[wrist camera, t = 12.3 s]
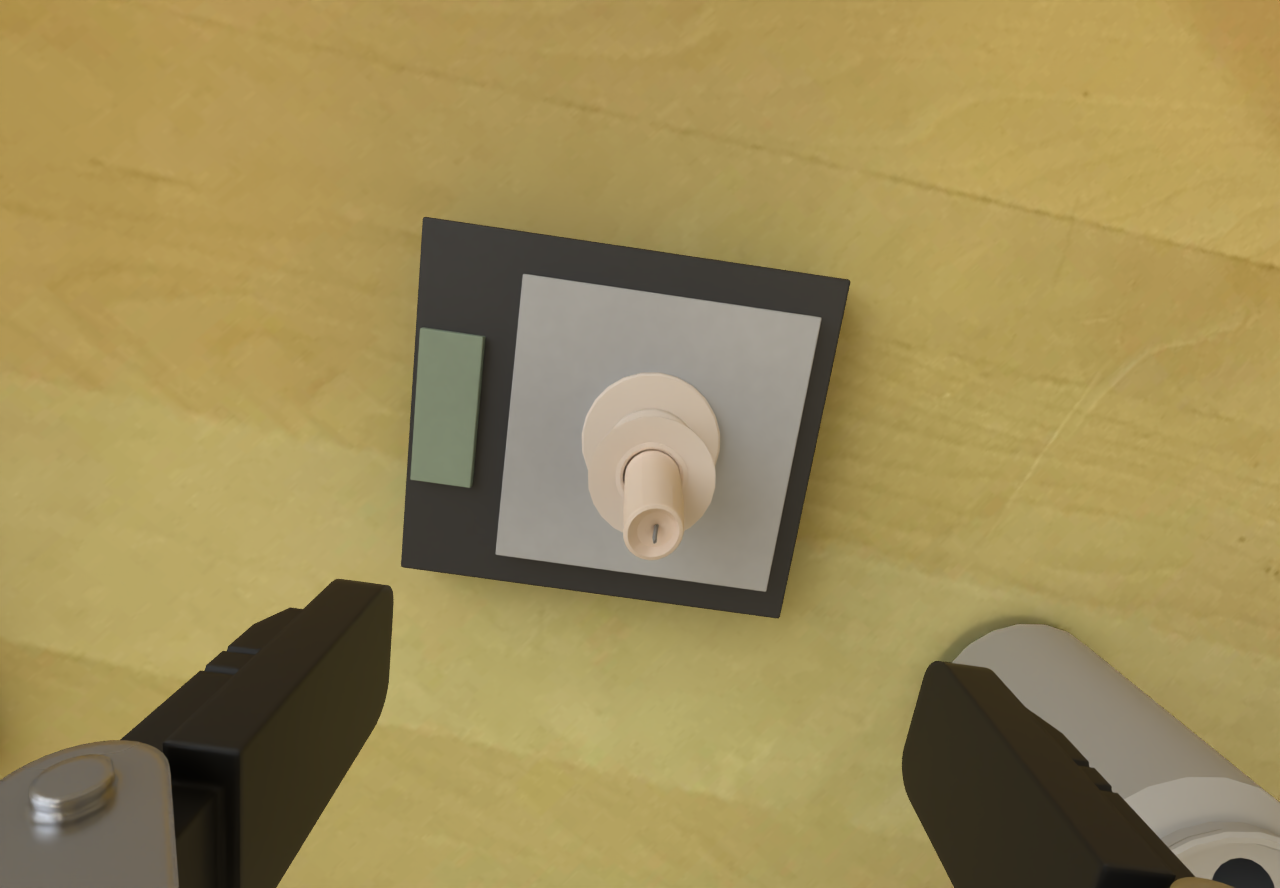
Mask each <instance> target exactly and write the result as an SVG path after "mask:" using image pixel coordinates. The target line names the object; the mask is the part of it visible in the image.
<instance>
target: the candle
mask: <svg viewBox="0 0 1280 888" xmlns="http://www.w3.org/2000/svg"><path fill="white" fill-rule="evenodd" d="M719 452H720V431H719V427H718V423H717V419H716V415H715V414H714V412H713V410H712V408H711V407H710V405H709V403H708V402H707V400H706V398H705V397H704V396H703V395H702V394H701V393H700V392H699V391H698V390H697V389H696V388H695V387H694V386H692V385H691V384H689V383H687V382H685V381H684V380H682V379H680V378H678V377H676V376H672V375H668V374H664V373H660V372H641V373H637V374H634V375H630V376H627V377H623V378H621V379H620V380H618V381H616V382H615V383H613V384H611V385H610V386H608V387H607V388H606V389H605V390H604V391H603V392H602V393H601V394H600V395H599V396H598V397H597V398H596V399H595V401H594V403H593V404H592V406H591V408H590V410H589V412H588V413H587V415H586V418H585V422H584V426H583V430H582V453H583V456H584V460H585V463H586V466H587V469H588V489H589V492H590V495H591V498H592V501H593V504H594V506H595V507H596V509H597V510H598V512H599V513H600V515H601V517H602V518H603V519H605V520H606V521H607V522H608V523H609V524H610V525H611V526H612V527H613V528H615V529H617V530H619V531H620V532H622V533H623V539H624V542H625V545H626V547H627V548H628V550H629V551H630V552H631V553H632V554H634V555H635V556H637V557H639V558H641V559H645V560H658V559H661V558H664V557H666V556H668V555H669V554H671V553H672V552H673V551H674V550H675V549H676V548H677V547H678V545H679V544H680V542H681V540H682V537H683V534H684V531H685V530H687V529H689V528H690V527H692V526H693V525H694V524H695V523H696V522H697V521H698V520H699V519H700V518H701V517H702V516H703V514H704V513H705V511H706V510H707V508H708V506H709V505H710V503H711V500H712V497H713V493H714V490H715V479H716V471H715V465H716V462H717V459H718V455H719Z"/></svg>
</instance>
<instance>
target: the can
mask: <svg viewBox="0 0 1280 888" xmlns="http://www.w3.org/2000/svg"><path fill="white" fill-rule="evenodd" d="M952 663H956V664H964V665H971V666H979V667H985V668H989V669H991V670H992V671H993V672H994V673H995V674H996V675H997V676H998V677H999V678H1000V679H1001V680H1002V681H1003V683H1004V684H1005V685H1006V686H1007V687H1008V688H1009V689H1010V690H1011V691H1012V693H1013V694H1014V695H1015V696H1016V697H1017V698H1018V699H1019V700H1020V702H1021V703H1022V704H1023V705H1024V706H1025V707H1026V708H1028V709H1029V710H1030V711H1032V712H1033V713H1035V714H1036V715H1037V716H1039V717H1040V718H1042V719H1043V720H1044V721H1046V722H1047V723H1049V724H1050V725H1052V726H1053V727H1054V728H1056V729H1057V730H1059V731H1060V732H1061V733H1063V734H1064V735H1065V737H1066V738H1067V739H1068V740H1069V741H1070V742H1071V743H1072V744H1073V745H1074V746H1075V747H1076V748H1077V749H1078V751H1079V752H1080V753H1081V754H1082V755H1083V756H1084V757H1085V758H1086V759H1087V760H1088V761H1089V767H1092V768H1095V769H1096V770H1097V771H1098V772H1099V773H1100V774H1101V775H1102V776H1103V778H1104V779H1105V780H1106V781H1107V782H1108V783H1109V784H1110V785H1111V786H1112V792H1115V793H1118V794H1119V795H1120V796H1121V797H1122V798H1123V799H1124V800H1125V801H1126V802H1127V803H1128V805H1129V806H1130V807H1131V808H1132V809H1133V810H1134V811H1135V812H1136V813H1137V814H1138V815H1139V816H1140V817H1141V819H1142V820H1143V821H1144V822H1145V823H1146V824H1147V825H1148V826H1149V827H1150V828H1151V829H1152V830H1153V831H1154V833H1155V834H1156V835H1157V836H1158V837H1159V838H1160V839H1161V840H1162V841H1163V842H1164V843H1165V844H1166V846H1167V847H1168V848H1169V849H1170V850H1171V851H1172V852H1173V853H1174V854H1175V855H1176V856H1177V857H1178V858H1179V860H1180V861H1181V862H1182V863H1183V864H1184V865H1185V866H1186V867H1187V868H1188V869H1189V870H1190V871H1191V872H1192V874H1193V875H1194V876H1195V877H1199V878H1205V879H1210V880H1214V881H1217V882H1221V883H1224V884H1227V885H1229V886H1232V887H1235V888H1280V802H1279V801H1277V800H1276V799H1275V798H1274V797H1272V796H1271V795H1270V794H1269V793H1267V792H1266V791H1265V790H1264V789H1263V788H1261V787H1260V786H1259V785H1258V784H1256V783H1255V782H1254V781H1253V780H1251V779H1250V778H1249V777H1248V776H1246V775H1245V774H1244V773H1243V772H1242V771H1240V770H1239V769H1238V768H1237V767H1235V766H1234V765H1233V764H1232V763H1230V762H1229V761H1228V760H1227V759H1226V758H1224V757H1223V756H1222V755H1221V754H1219V753H1218V752H1217V751H1216V750H1214V749H1213V748H1212V747H1211V746H1209V745H1208V744H1207V743H1206V742H1205V741H1203V740H1202V739H1201V738H1200V737H1198V736H1197V735H1196V734H1195V733H1193V732H1192V731H1191V730H1190V729H1189V728H1187V727H1186V726H1185V725H1184V724H1182V723H1181V722H1180V721H1179V720H1177V719H1176V718H1175V717H1174V716H1173V715H1171V714H1170V713H1169V712H1168V711H1166V710H1165V709H1164V708H1163V707H1161V706H1160V705H1159V704H1158V703H1156V702H1155V701H1154V700H1153V699H1152V698H1150V697H1149V696H1148V695H1147V694H1145V693H1144V692H1143V691H1142V690H1140V689H1139V688H1138V687H1137V686H1136V685H1134V684H1133V683H1132V682H1131V681H1129V680H1128V679H1127V678H1126V677H1124V676H1123V675H1122V674H1121V673H1120V672H1118V671H1117V670H1116V669H1115V668H1113V667H1112V666H1111V665H1110V664H1108V663H1107V662H1106V661H1105V660H1103V659H1102V658H1101V657H1100V656H1099V655H1097V654H1096V653H1095V652H1094V651H1092V650H1091V649H1090V648H1089V647H1087V646H1086V645H1085V644H1083V643H1082V642H1081V641H1079V640H1078V639H1077V638H1076V637H1074V636H1073V635H1072V634H1070V633H1069V632H1066V631H1063V630H1060V629H1057V628H1054V627H1051V626H1048V625H1045V624H1016V625H1013V626H1009V627H1005V628H1002V629H998V630H994V631H991V632H989V633H988V634H986V635H984V636H983V637H981V638H979V639H978V640H976V641H974V642H972V643H971V644H969V645H968V646H967V647H966V648H965V649H964V650H963V651H962V652H961V653H960V654H959V655H958V656H957V657H956V658H955V659H954V661H953V662H952Z"/></svg>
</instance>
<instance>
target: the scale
mask: <svg viewBox="0 0 1280 888" xmlns="http://www.w3.org/2000/svg"><path fill="white" fill-rule="evenodd" d="M849 286H850V280H848V279H841V278H834V277H827V276H821V275H814V274H807V273H800V272H794V271H787V270H780V269H773V268H767V267H760V266H753V265H746V264H740V263H733V262H726V261H719V260H713V259H706V258H699V257H692V256H686V255H679V254H672V253H665V252H659V251H652V250H645V249H638V248H632V247H625V246H618V245H611V244H605V243H598V242H591V241H584V240H578V239H571V238H564V237H557V236H551V235H544V234H537V233H530V232H524V231H517V230H510V229H503V228H497V227H490V226H483V225H476V224H470V223H463V222H456V221H449V220H443V219H436V218H429V217H424V218H423V226H422V242H421V258H420V274H419V290H418V305H417V321H416V337H415V353H414V369H413V385H412V401H411V417H410V433H409V448H408V464H407V480H406V496H405V512H404V528H403V544H402V560H401V566H402V567H405V568H412V569H419V570H427V571H434V572H441V573H449V574H456V575H463V576H471V577H478V578H485V579H493V580H500V581H507V582H515V583H522V584H529V585H537V586H544V587H551V588H559V589H566V590H573V591H581V592H588V593H595V594H603V595H610V596H617V597H625V598H632V599H639V600H647V601H654V602H661V603H669V604H676V605H683V606H691V607H698V608H705V609H713V610H720V611H727V612H735V613H742V614H749V615H756V616H764V617H771V618H779V617H780V613H781V608H782V604H783V599H784V594H785V589H786V585H787V580H788V575H789V570H790V566H791V561H792V556H793V552H794V547H795V542H796V537H797V533H798V528H799V523H800V518H801V514H802V509H803V504H804V499H805V495H806V490H807V485H808V480H809V476H810V471H811V466H812V461H813V457H814V452H815V447H816V442H817V438H818V433H819V428H820V423H821V419H822V414H823V409H824V404H825V400H826V395H827V390H828V385H829V381H830V376H831V371H832V366H833V362H834V357H835V352H836V347H837V343H838V338H839V333H840V329H841V324H842V319H843V314H844V310H845V305H846V300H847V295H848V291H849ZM641 372H660V373H664V374H668V375H672V376H676V377H678V378H680V379H682V380H684V381H685V382H687V383H689V384H691V385H692V386H694V387H695V388H696V389H697V390H698V391H699V392H700V393H701V394H702V395H703V396H704V397H705V398H706V400H707V402H708V403H709V405H710V407H711V408H712V410H713V412H714V414H715V415H716V419H717V423H718V427H719V431H720V452H719V455H718V459H717V462H716V465H715V471H716V479H715V490H714V493H713V497H712V500H711V503H710V505H709V506H708V508H707V510H706V511H705V513H704V514H703V516H702V517H701V518H700V519H699V520H698V521H697V522H696V523H695V524H694V525H693V526H692V527H690V528H689V529H687V530H685V531H684V534H683V537H682V540H681V542H680V544H679V545H678V547H677V548H676V549H675V550H674V551H673V552H672V553H671V554H669V555H668V556H666V557H664V558H661V559H658V560H645V559H641V558H639V557H637V556H635V555H634V554H632V553H631V552H630V551H629V550H628V548H627V547H626V545H625V542H624V539H623V533H622V532H620V531H619V530H617V529H615V528H613V527H612V526H611V525H610V524H609V523H608V522H607V521H606V520H605V519H603V518H602V517H601V515H600V513H599V512H598V510H597V509H596V507H595V506H594V504H593V501H592V498H591V495H590V492H589V489H588V469H587V466H586V463H585V460H584V456H583V453H582V430H583V426H584V422H585V418H586V415H587V413H588V412H589V410H590V408H591V406H592V404H593V403H594V401H595V399H596V398H597V397H598V396H599V395H600V394H601V393H602V392H603V391H604V390H605V389H606V388H607V387H608V386H610V385H611V384H613V383H615V382H616V381H618V380H620V379H621V378H623V377H627V376H630V375H634V374H637V373H641Z"/></svg>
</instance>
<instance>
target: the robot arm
mask: <svg viewBox="0 0 1280 888" xmlns="http://www.w3.org/2000/svg"><path fill="white" fill-rule="evenodd" d="M392 619H393V591H392V589H391V587H390V586H388V585H381V584H374V583H366V582H359V581H352V580H344V579H336V580H334V581H333V582H331V583H330V584H329V585H328V586H327V587H326V588H325V589H324V590H323V591H322V592H321V593H320V594H319V595H318V596H317V597H316V598H314V599H313V600H312V601H311V602H310V603H309V604H308V605H307V606H306V607H305V608H304V609H297V608H288V609H286V610H284V611H282V612H279V613H277V614H275V615H273V616H271V617H269V618H266V619H264V620H262V621H260V622H258V623H255V624H254V625H252V626H251V627H250V628H249V629H248V630H247V631H245V632H244V633H243V634H242V635H241V636H240V637H239V638H237V639H236V640H235V641H234V642H233V643H232V644H230V645H229V646H228V649H227V651H222V652H221V653H220V654H219V655H218V656H217V657H215V658H214V659H213V660H212V661H211V662H210V663H209V664H207V665H206V668H205V670H204V671H199V672H198V673H197V674H196V675H195V676H194V677H192V678H191V679H190V680H189V681H188V682H187V683H185V684H184V685H183V686H182V687H181V688H180V689H179V690H177V691H176V692H175V693H174V694H173V695H172V696H170V697H169V698H168V699H167V700H166V701H165V702H164V703H162V704H161V705H160V706H159V707H158V708H157V709H155V710H154V711H153V712H152V713H151V714H150V715H149V716H147V717H146V718H145V719H144V720H143V721H142V722H140V723H139V724H138V725H137V726H136V727H135V728H134V729H132V730H131V731H130V732H129V733H128V734H127V735H125V736H124V737H123V738H122V739H121V740H110V741H101V742H93V743H88V744H83V745H78V746H74V747H71V748H67V749H64V750H60V751H58V752H55V753H52V754H49V755H47V756H44V757H42V758H40V759H37V760H35V761H33V762H31V763H28V764H27V765H25V766H23V767H21V768H19V769H17V770H15V771H14V772H12V773H11V774H9V775H7V776H6V777H4V778H3V779H1V780H0V888H276V887H277V885H278V884H279V882H280V881H281V879H282V877H283V876H284V874H285V872H286V871H287V869H288V868H289V866H290V864H291V863H292V861H293V859H294V858H295V856H296V855H297V853H298V851H299V850H300V848H301V846H302V845H303V843H304V841H305V840H306V838H307V837H308V835H309V833H310V832H311V830H312V828H313V827H314V825H315V824H316V822H317V820H318V819H319V817H320V815H321V814H322V812H323V810H324V809H325V807H326V806H327V804H328V802H329V801H330V799H331V797H332V796H333V794H334V793H335V791H336V789H337V788H338V786H339V784H340V783H341V781H342V779H343V778H344V776H345V775H346V773H347V771H348V770H349V768H350V766H351V765H352V763H353V762H354V760H355V758H356V757H357V755H358V753H359V752H360V750H361V749H362V747H363V745H364V744H365V742H366V740H367V739H368V737H369V735H370V734H371V732H372V731H373V729H374V727H375V725H376V724H377V721H378V719H379V717H380V714H381V712H382V709H383V706H384V702H385V699H386V694H387V689H388V683H389V669H390V652H391V636H392ZM902 773H903V781H904V786H905V790H906V793H907V795H908V798H909V800H910V802H911V804H912V806H913V808H914V810H915V812H916V814H917V815H918V817H919V819H920V821H921V823H922V825H923V827H924V829H925V831H926V833H927V835H928V837H929V839H930V841H931V843H932V845H933V847H934V849H935V851H936V853H937V855H938V857H939V859H940V861H941V862H942V864H943V866H944V868H945V870H946V872H947V874H948V876H949V878H950V880H951V882H952V884H953V886H954V888H1235V887H1232V886H1229V885H1227V884H1224V883H1221V882H1217V881H1214V880H1210V879H1205V878H1199V877H1195V876H1194V875H1193V874H1192V872H1191V871H1190V870H1189V869H1188V868H1187V867H1186V866H1185V865H1184V864H1183V863H1182V862H1181V861H1180V860H1179V858H1178V857H1177V856H1176V855H1175V854H1174V853H1173V852H1172V851H1171V850H1170V849H1169V848H1168V847H1167V846H1166V844H1165V843H1164V842H1163V841H1162V840H1161V839H1160V838H1159V837H1158V836H1157V835H1156V834H1155V833H1154V831H1153V830H1152V829H1151V828H1150V827H1149V826H1148V825H1147V824H1146V823H1145V822H1144V821H1143V820H1142V819H1141V817H1140V816H1139V815H1138V814H1137V813H1136V812H1135V811H1134V810H1133V809H1132V808H1131V807H1130V806H1129V805H1128V803H1127V802H1126V801H1125V800H1124V799H1123V798H1122V797H1121V796H1120V795H1119V794H1118V793H1115V792H1112V786H1111V785H1110V784H1109V783H1108V782H1107V781H1106V780H1105V779H1104V778H1103V776H1102V775H1101V774H1100V773H1099V772H1098V771H1097V770H1096V769H1095V768H1092V767H1089V761H1088V760H1087V759H1086V758H1085V757H1084V756H1083V755H1082V754H1081V753H1080V752H1079V751H1078V749H1077V748H1076V747H1075V746H1074V745H1073V744H1072V743H1071V742H1070V741H1069V740H1068V739H1067V738H1066V737H1065V735H1064V734H1063V733H1061V732H1060V731H1059V730H1057V729H1056V728H1054V727H1053V726H1052V725H1050V724H1049V723H1047V722H1046V721H1044V720H1043V719H1042V718H1040V717H1039V716H1037V715H1036V714H1035V713H1033V712H1032V711H1030V710H1029V709H1028V708H1026V707H1025V706H1024V705H1023V704H1022V703H1021V702H1020V700H1019V699H1018V698H1017V697H1016V696H1015V695H1014V694H1013V693H1012V691H1011V690H1010V689H1009V688H1008V687H1007V686H1006V685H1005V684H1004V683H1003V681H1002V680H1001V679H1000V678H999V677H998V676H997V675H996V674H995V673H994V672H993V671H992V670H991V669H989V668H985V667H979V666H971V665H964V664H956V663H949V662H942V661H935V662H933V663H931V664H930V665H929V667H928V668H927V670H926V672H925V675H924V678H923V681H922V685H921V689H920V692H919V696H918V699H917V703H916V707H915V710H914V714H913V717H912V721H911V725H910V728H909V732H908V735H907V739H906V743H905V746H904V750H903V757H902Z"/></svg>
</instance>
